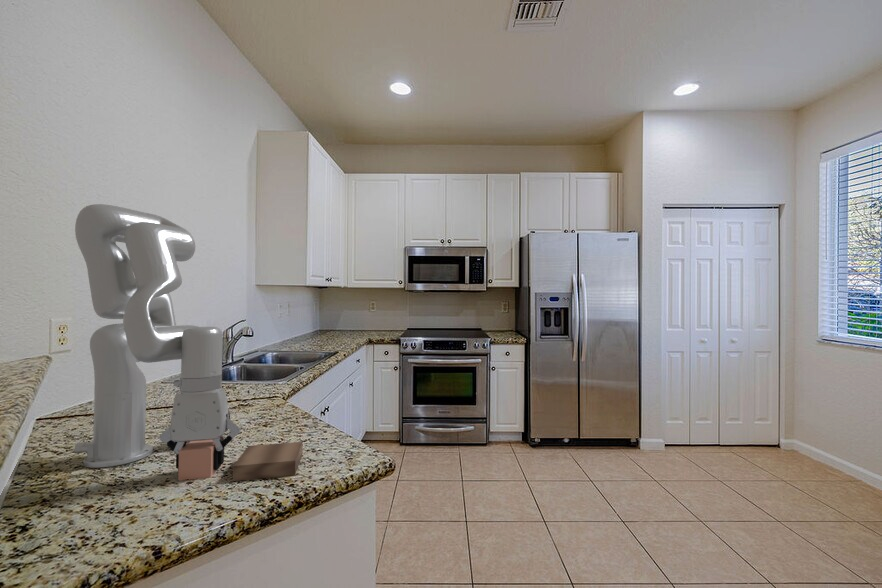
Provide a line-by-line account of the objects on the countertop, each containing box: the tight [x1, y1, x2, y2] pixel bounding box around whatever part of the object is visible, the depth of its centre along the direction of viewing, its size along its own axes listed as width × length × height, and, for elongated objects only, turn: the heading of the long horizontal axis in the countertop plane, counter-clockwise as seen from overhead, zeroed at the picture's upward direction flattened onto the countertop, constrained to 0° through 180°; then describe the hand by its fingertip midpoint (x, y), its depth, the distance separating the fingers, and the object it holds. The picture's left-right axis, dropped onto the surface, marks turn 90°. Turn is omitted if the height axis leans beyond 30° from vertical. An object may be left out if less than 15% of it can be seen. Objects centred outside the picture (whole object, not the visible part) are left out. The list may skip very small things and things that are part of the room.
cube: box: [177, 440, 218, 481], centre depth 83 cm, size 6×6×6 cm
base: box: [232, 441, 304, 482], centre depth 86 cm, size 12×12×3 cm
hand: (200, 468), depth 83 cm, fingers closed on cube, 6 cm apart
